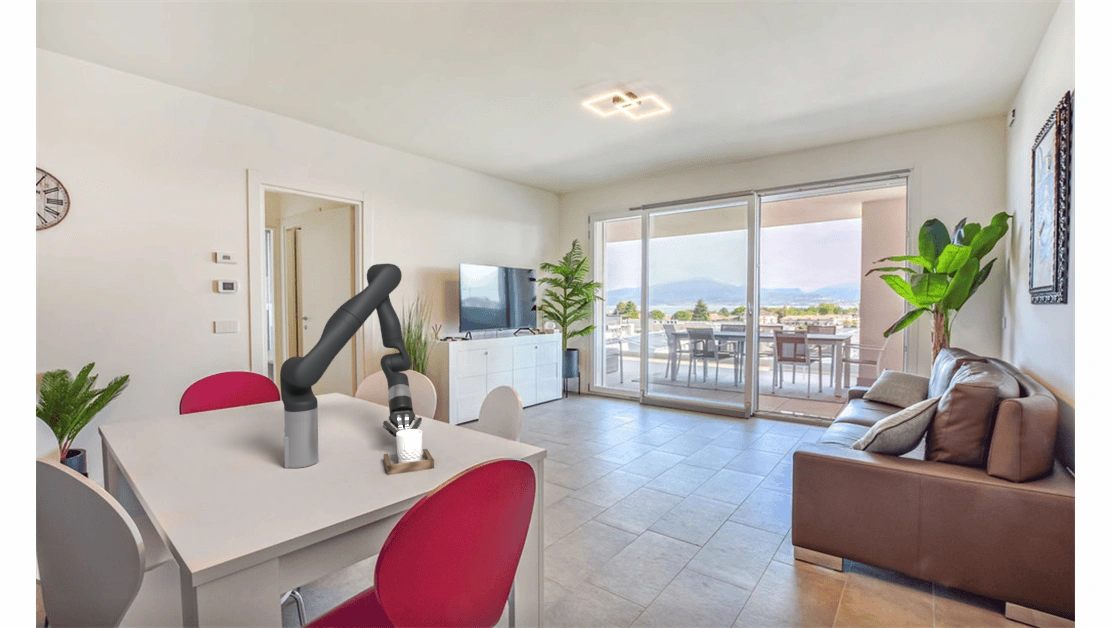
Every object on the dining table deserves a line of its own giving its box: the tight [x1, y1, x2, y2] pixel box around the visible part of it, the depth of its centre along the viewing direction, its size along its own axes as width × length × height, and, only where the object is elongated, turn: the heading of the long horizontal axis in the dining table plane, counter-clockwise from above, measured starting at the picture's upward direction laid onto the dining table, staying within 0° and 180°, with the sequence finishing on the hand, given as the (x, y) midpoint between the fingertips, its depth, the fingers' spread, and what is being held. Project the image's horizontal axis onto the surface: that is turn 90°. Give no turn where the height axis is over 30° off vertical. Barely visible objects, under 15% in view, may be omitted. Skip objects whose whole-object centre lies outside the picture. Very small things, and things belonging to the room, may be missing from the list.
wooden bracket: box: [383, 448, 435, 476], centre depth 153 cm, size 13×12×2 cm
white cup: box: [395, 428, 423, 464], centre depth 154 cm, size 8×8×10 cm
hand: (405, 446), depth 159 cm, fingers closed
